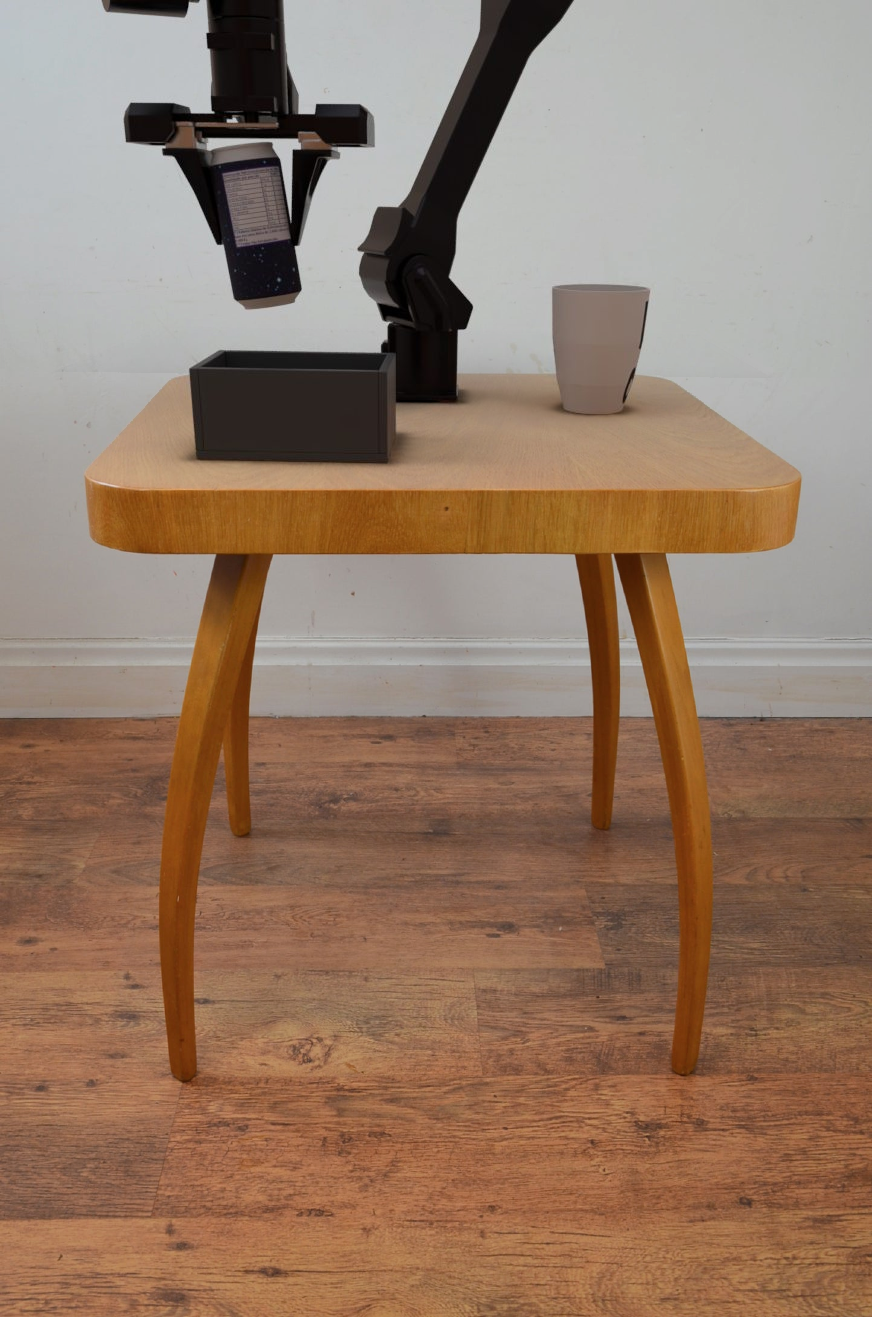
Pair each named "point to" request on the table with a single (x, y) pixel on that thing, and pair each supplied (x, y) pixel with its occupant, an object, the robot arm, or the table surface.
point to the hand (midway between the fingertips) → (258, 245)
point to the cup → (597, 343)
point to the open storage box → (294, 406)
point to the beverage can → (255, 224)
